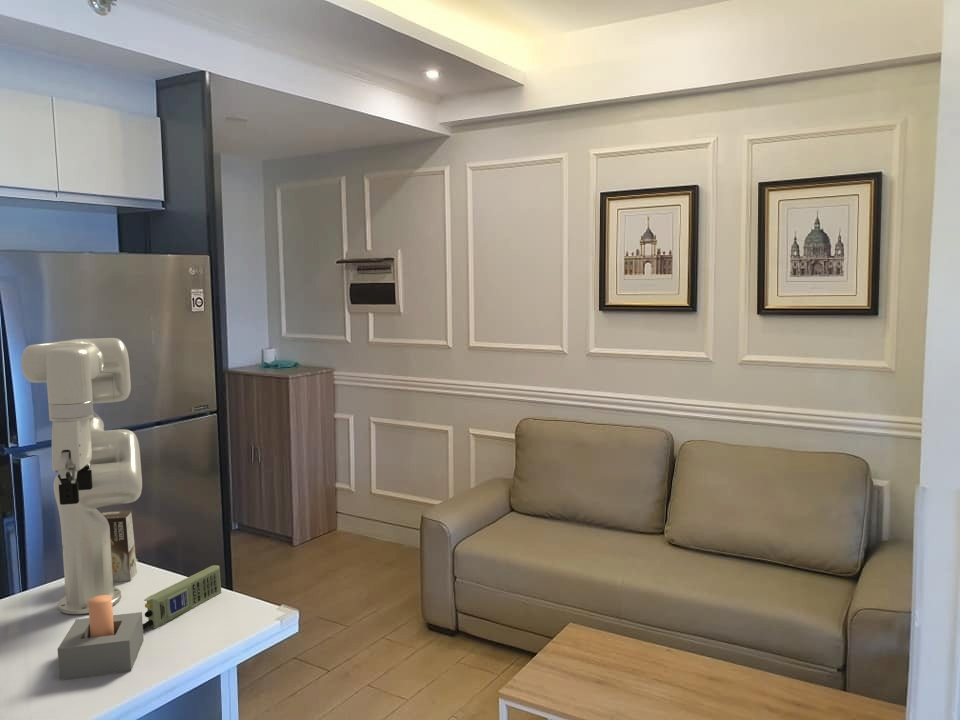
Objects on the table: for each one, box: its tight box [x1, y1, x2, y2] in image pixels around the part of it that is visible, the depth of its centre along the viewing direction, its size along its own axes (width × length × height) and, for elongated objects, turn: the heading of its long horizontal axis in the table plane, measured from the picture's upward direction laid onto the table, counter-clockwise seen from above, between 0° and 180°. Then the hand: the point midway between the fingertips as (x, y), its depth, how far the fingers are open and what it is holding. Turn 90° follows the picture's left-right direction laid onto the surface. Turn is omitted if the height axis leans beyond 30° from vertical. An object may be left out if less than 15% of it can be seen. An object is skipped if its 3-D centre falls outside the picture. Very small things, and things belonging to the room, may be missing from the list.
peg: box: [88, 595, 114, 638], centre depth 138 cm, size 4×4×12 cm
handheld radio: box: [143, 564, 222, 631], centre depth 158 cm, size 7×3×25 cm
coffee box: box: [99, 509, 138, 583], centre depth 177 cm, size 9×6×16 cm
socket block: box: [57, 611, 144, 681], centre depth 139 cm, size 12×12×6 cm
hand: (76, 496), depth 142 cm, fingers open, 9 cm apart
